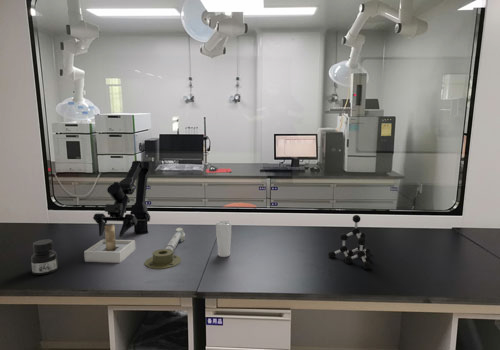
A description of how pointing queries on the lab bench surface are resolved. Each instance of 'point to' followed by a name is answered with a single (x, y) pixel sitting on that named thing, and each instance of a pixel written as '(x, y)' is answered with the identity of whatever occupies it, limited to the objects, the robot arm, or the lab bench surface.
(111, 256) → the box
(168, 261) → the flange
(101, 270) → the lab bench surface
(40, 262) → the ink bottle
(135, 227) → the robot arm
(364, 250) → the molecular model
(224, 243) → the drinking glass
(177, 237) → the light grey piece
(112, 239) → the peg
